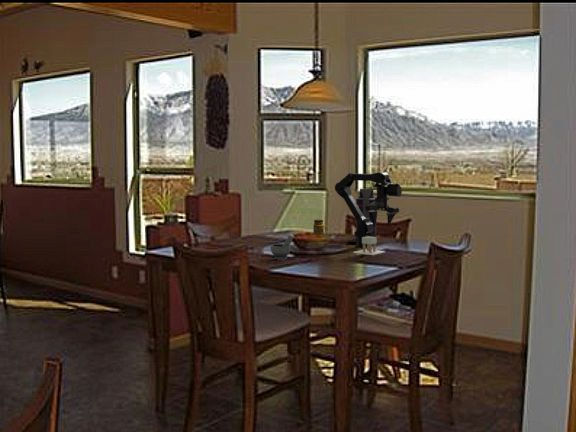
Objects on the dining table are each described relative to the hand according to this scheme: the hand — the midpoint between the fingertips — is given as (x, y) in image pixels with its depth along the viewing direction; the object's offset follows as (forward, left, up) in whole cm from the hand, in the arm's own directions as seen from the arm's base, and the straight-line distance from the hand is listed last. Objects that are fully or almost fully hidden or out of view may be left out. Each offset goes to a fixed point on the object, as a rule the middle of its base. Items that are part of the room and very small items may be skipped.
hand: (381, 225), depth 371 cm
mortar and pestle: (-20, -58, -13) cm, 63 cm away
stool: (+1, -14, -12) cm, 19 cm away
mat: (+2, -14, -13) cm, 19 cm away
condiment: (-46, +4, -13) cm, 48 cm away
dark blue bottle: (-26, +25, -13) cm, 39 cm away
